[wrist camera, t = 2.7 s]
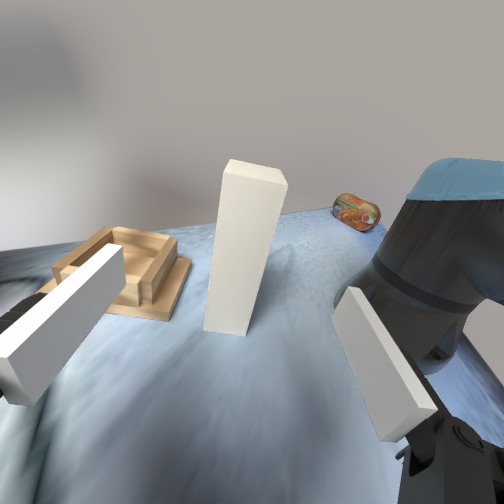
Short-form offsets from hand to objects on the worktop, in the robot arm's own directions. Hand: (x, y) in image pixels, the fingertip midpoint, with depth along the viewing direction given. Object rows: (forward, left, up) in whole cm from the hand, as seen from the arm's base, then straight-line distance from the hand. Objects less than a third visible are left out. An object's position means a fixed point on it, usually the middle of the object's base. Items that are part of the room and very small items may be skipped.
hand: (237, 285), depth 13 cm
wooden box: (-3, -18, -13) cm, 23 cm away
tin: (-63, -1, -14) cm, 65 cm away
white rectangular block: (-8, -5, -13) cm, 17 cm away
